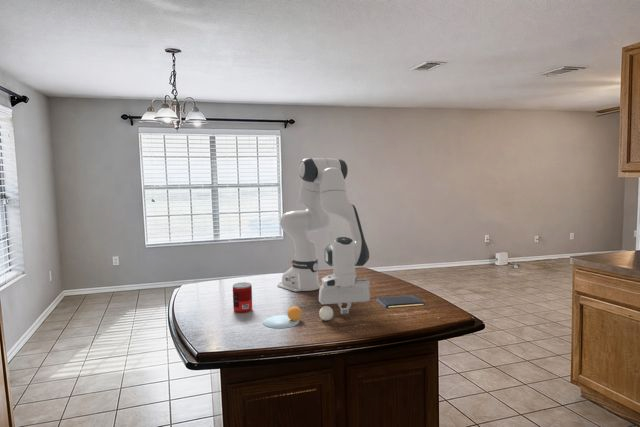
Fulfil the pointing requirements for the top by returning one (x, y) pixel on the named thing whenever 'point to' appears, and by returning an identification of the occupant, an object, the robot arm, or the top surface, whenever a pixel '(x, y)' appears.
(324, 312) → the white ping pong ball
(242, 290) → the canned food
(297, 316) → the orange ball
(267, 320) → the light blue disc
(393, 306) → the wallet
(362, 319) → the top surface
